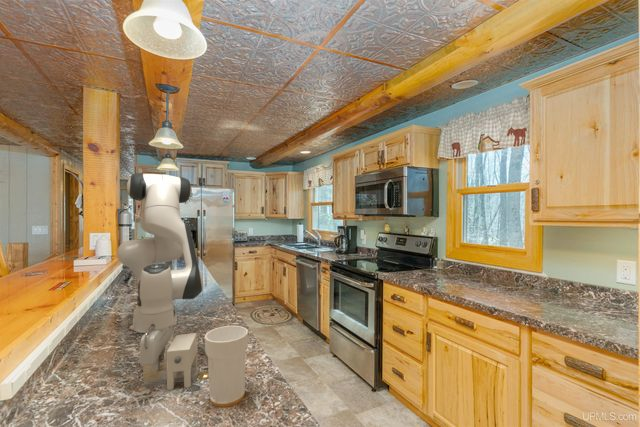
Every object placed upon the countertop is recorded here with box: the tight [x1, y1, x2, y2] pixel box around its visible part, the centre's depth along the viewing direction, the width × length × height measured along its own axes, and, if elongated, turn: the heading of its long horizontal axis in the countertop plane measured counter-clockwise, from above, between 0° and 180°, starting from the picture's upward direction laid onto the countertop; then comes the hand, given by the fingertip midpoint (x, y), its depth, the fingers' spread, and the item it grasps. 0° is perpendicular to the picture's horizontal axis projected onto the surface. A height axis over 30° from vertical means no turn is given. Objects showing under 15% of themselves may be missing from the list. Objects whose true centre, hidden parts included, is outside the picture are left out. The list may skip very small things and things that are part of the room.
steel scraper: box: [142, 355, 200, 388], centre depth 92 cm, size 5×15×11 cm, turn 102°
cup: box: [204, 325, 249, 408], centre depth 83 cm, size 11×11×17 cm
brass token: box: [197, 369, 209, 380], centre depth 94 cm, size 4×4×1 cm
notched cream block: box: [166, 332, 198, 391], centre depth 92 cm, size 13×6×11 cm, turn 12°
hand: (158, 365), depth 91 cm, fingers closed on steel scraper, 3 cm apart
